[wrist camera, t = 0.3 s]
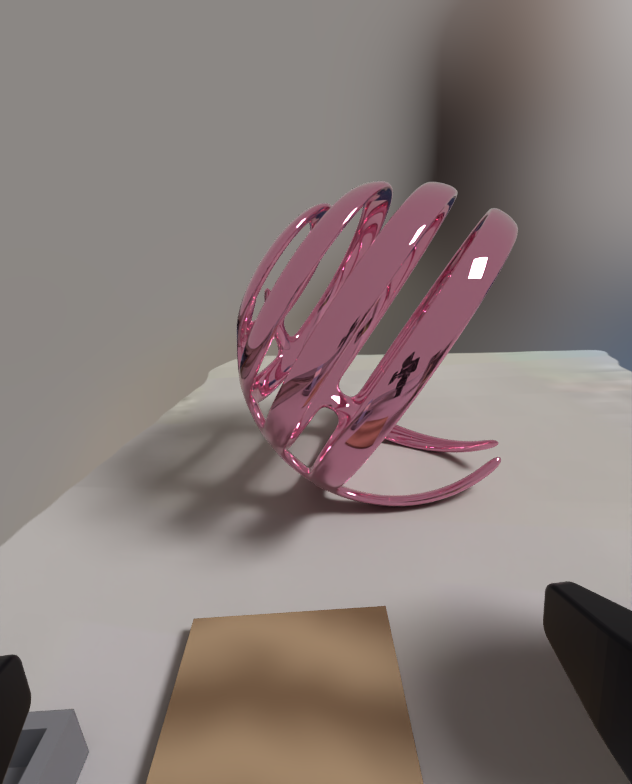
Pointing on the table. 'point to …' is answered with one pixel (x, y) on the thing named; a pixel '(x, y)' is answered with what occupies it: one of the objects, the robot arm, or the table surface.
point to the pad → (288, 703)
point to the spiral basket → (365, 331)
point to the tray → (48, 749)
